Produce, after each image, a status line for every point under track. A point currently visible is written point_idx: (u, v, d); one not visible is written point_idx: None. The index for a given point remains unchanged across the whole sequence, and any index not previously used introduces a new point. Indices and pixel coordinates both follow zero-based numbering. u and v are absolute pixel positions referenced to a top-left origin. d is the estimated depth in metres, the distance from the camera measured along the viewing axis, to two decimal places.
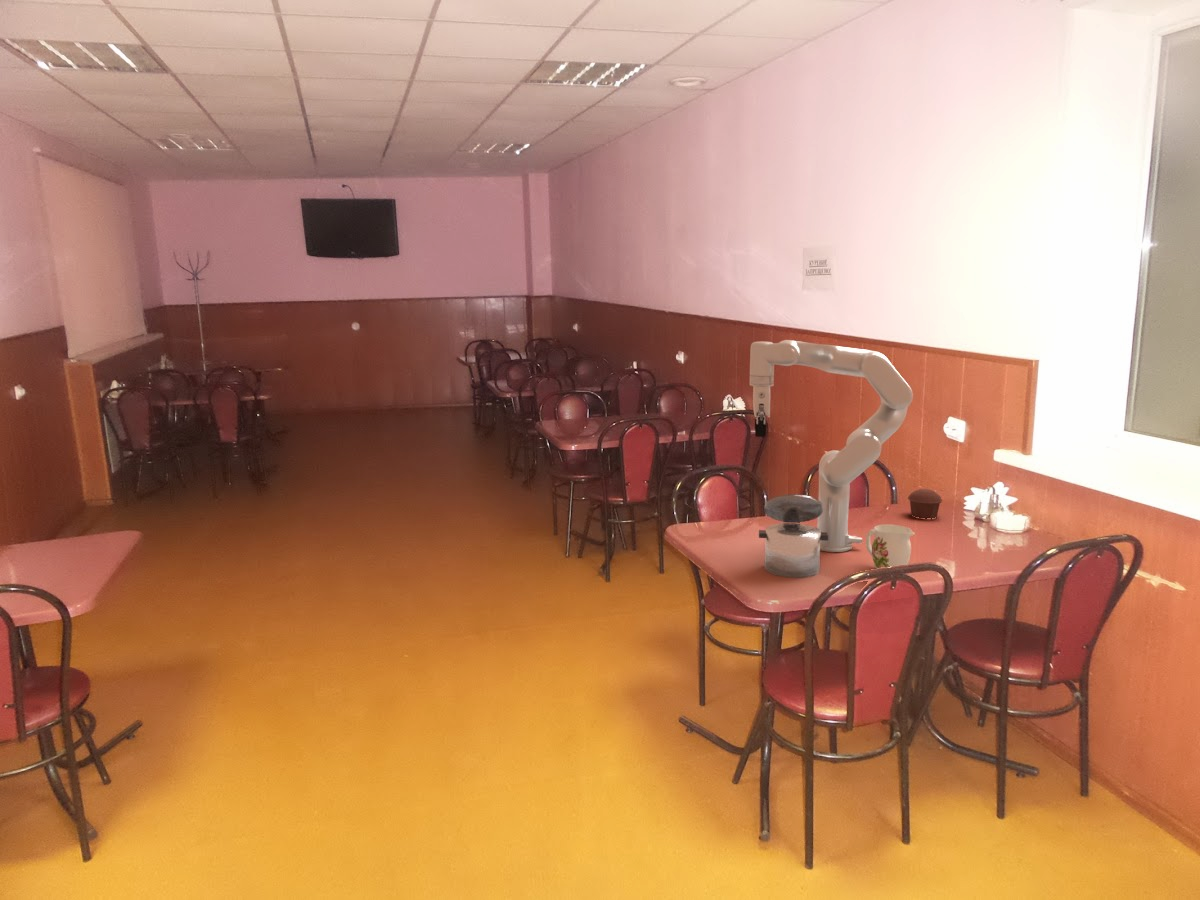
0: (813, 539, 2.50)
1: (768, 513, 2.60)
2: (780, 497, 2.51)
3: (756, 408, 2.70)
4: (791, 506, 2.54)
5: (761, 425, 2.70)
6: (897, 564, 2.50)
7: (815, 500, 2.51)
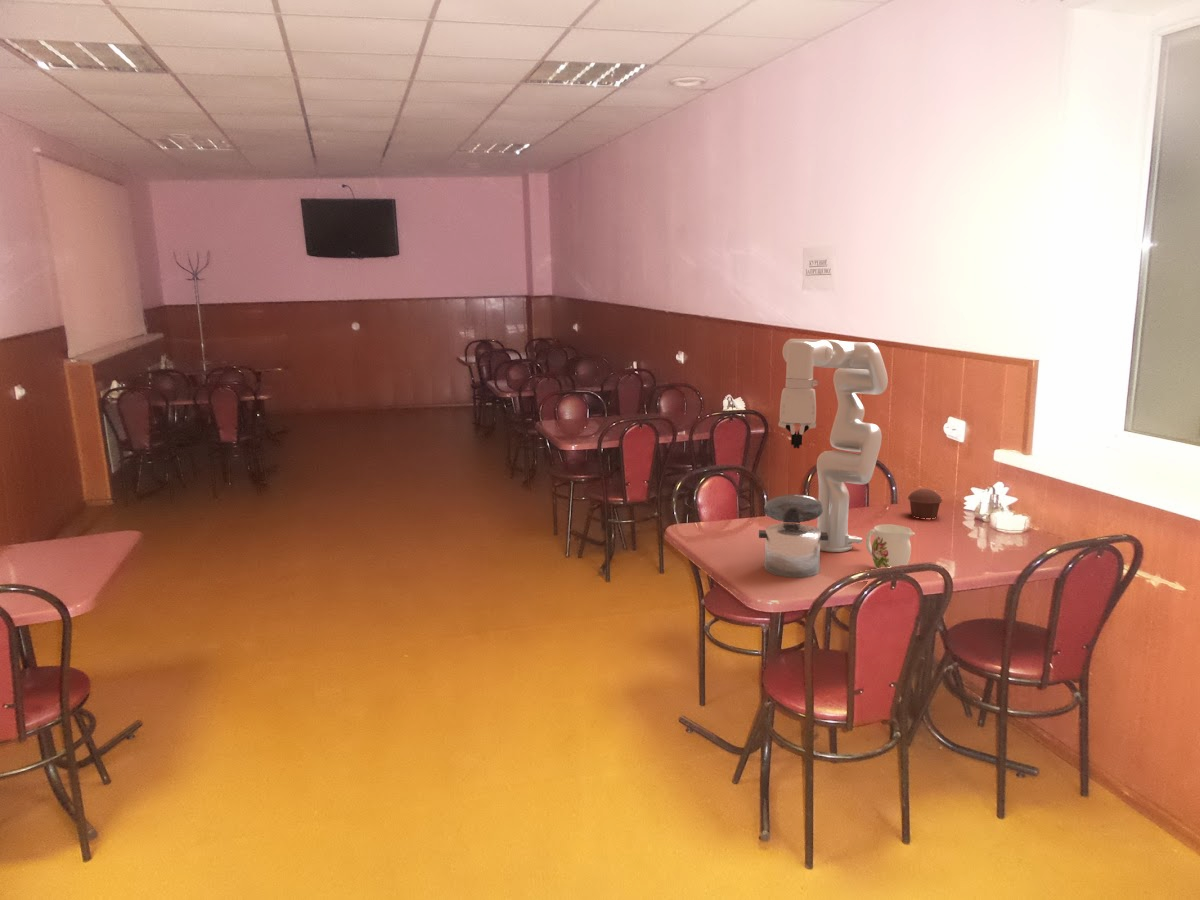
0: (813, 539, 2.50)
1: (768, 513, 2.60)
2: (780, 497, 2.51)
3: (815, 413, 2.46)
4: (791, 506, 2.54)
5: None
6: (897, 564, 2.50)
7: (815, 500, 2.51)
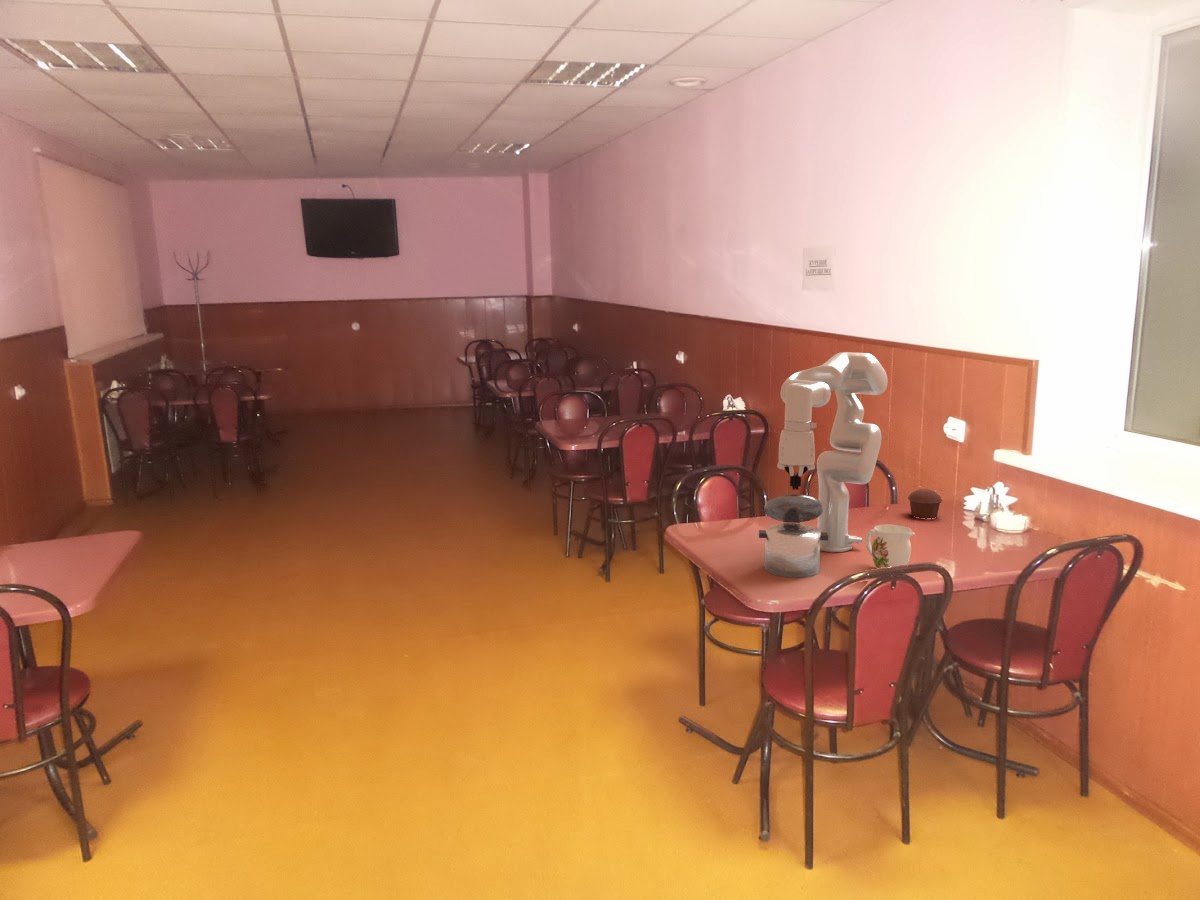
0: (813, 539, 2.50)
1: (768, 513, 2.60)
2: (780, 497, 2.51)
3: (814, 455, 2.47)
4: (791, 506, 2.54)
5: (800, 476, 2.50)
6: (897, 564, 2.50)
7: (815, 500, 2.51)
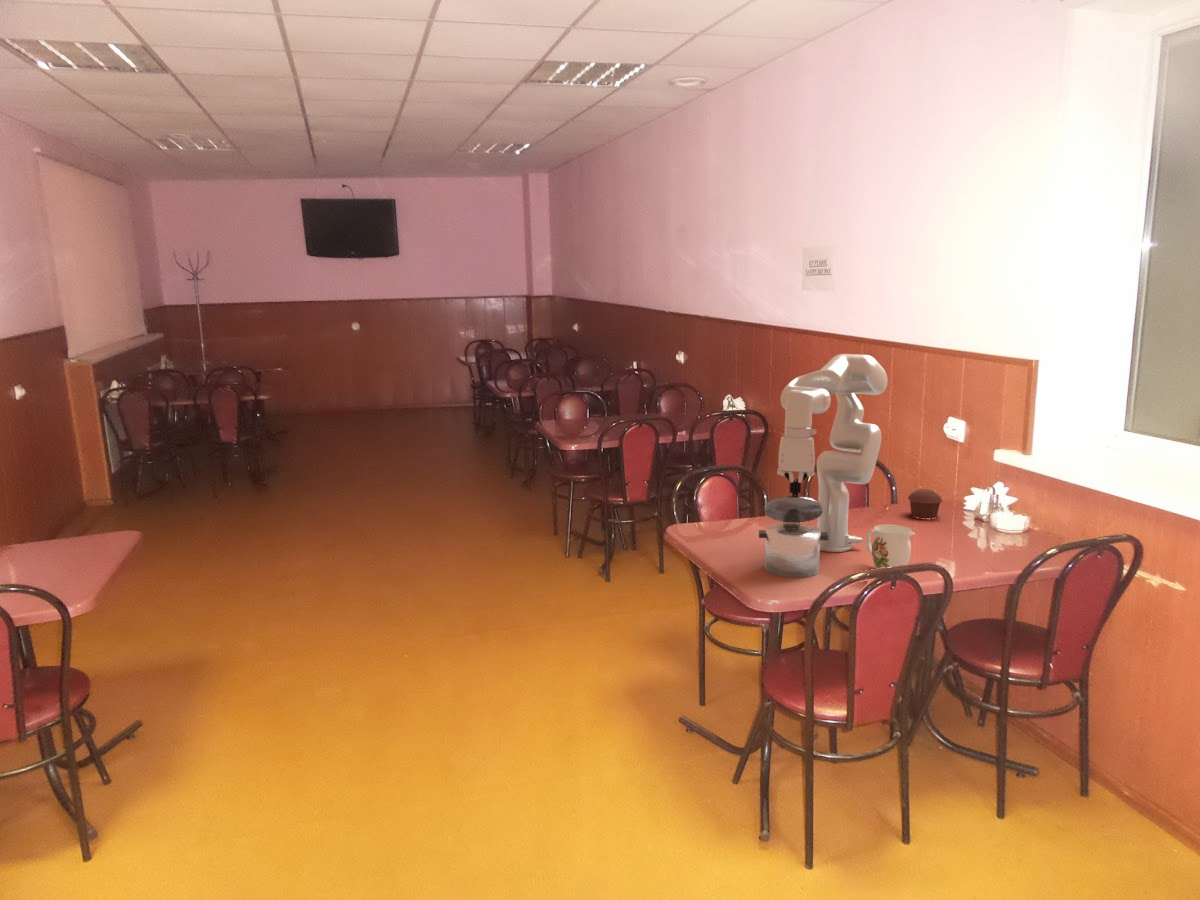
0: (813, 539, 2.50)
1: (768, 514, 2.60)
2: (780, 499, 2.51)
3: (814, 462, 2.47)
4: (791, 507, 2.54)
5: (800, 482, 2.50)
6: (897, 564, 2.50)
7: (815, 501, 2.51)
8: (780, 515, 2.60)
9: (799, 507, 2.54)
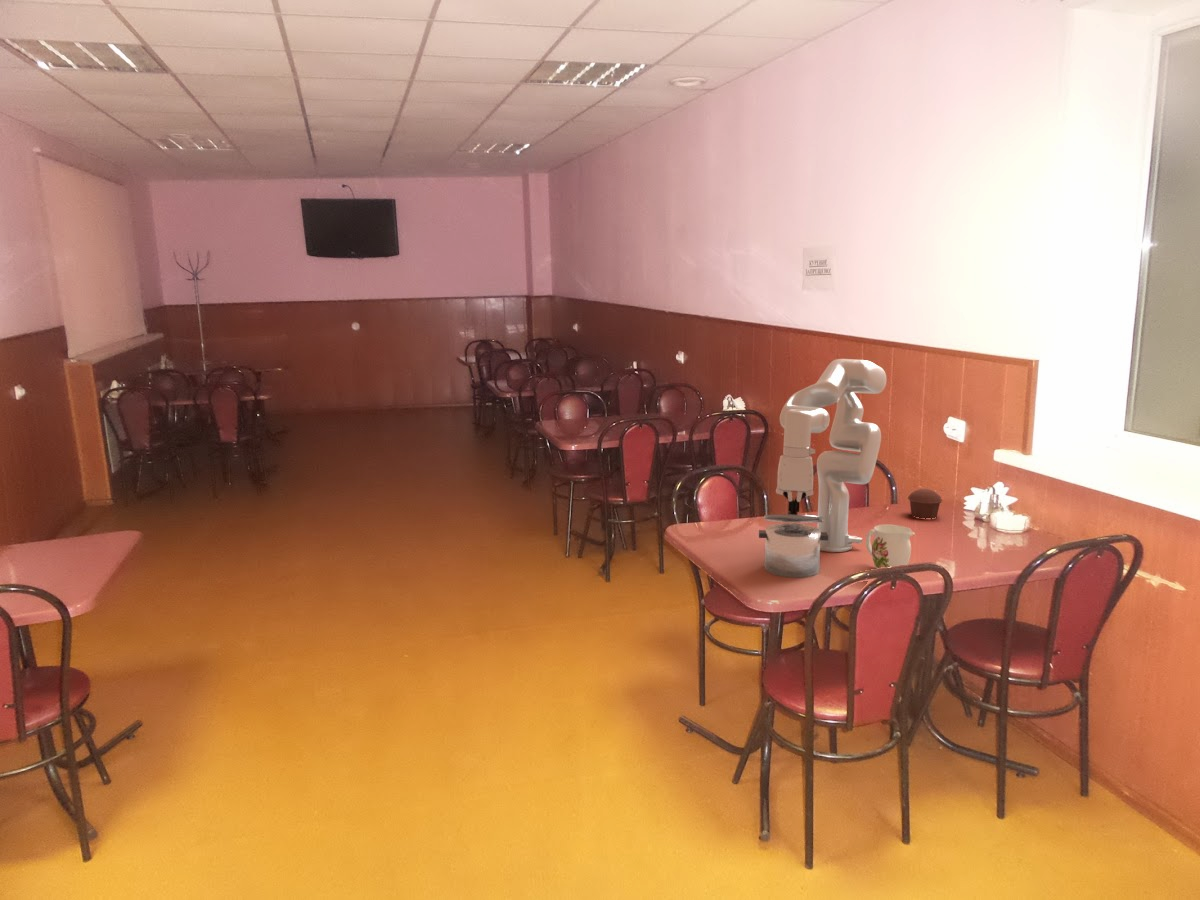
0: (813, 539, 2.50)
1: (768, 520, 2.60)
2: (780, 516, 2.49)
3: None
4: None
5: (799, 501, 2.51)
6: (897, 564, 2.50)
7: (815, 517, 2.49)
8: None
9: None
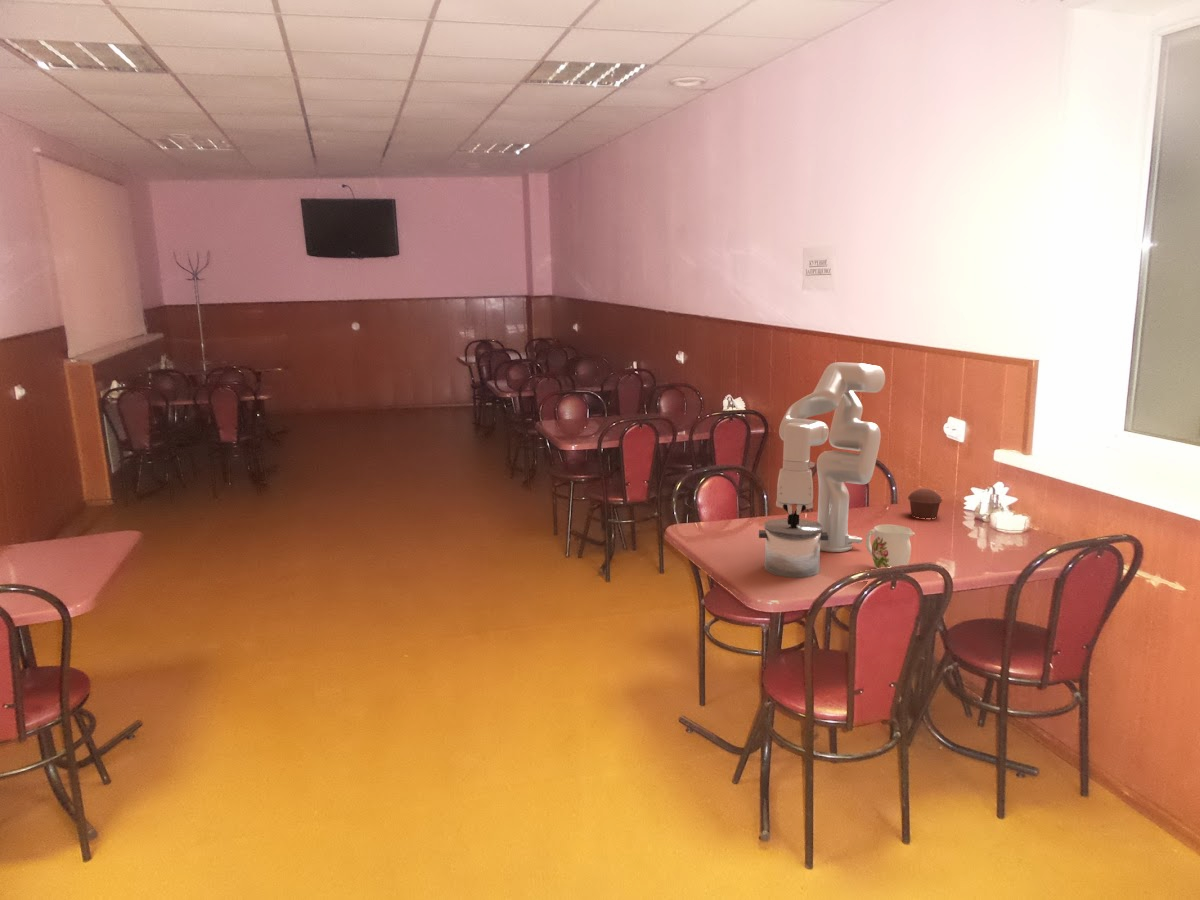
0: (813, 539, 2.50)
1: None
2: (780, 531, 2.49)
3: (812, 494, 2.49)
4: None
5: (799, 514, 2.52)
6: (897, 564, 2.50)
7: (815, 532, 2.49)
8: None
9: None
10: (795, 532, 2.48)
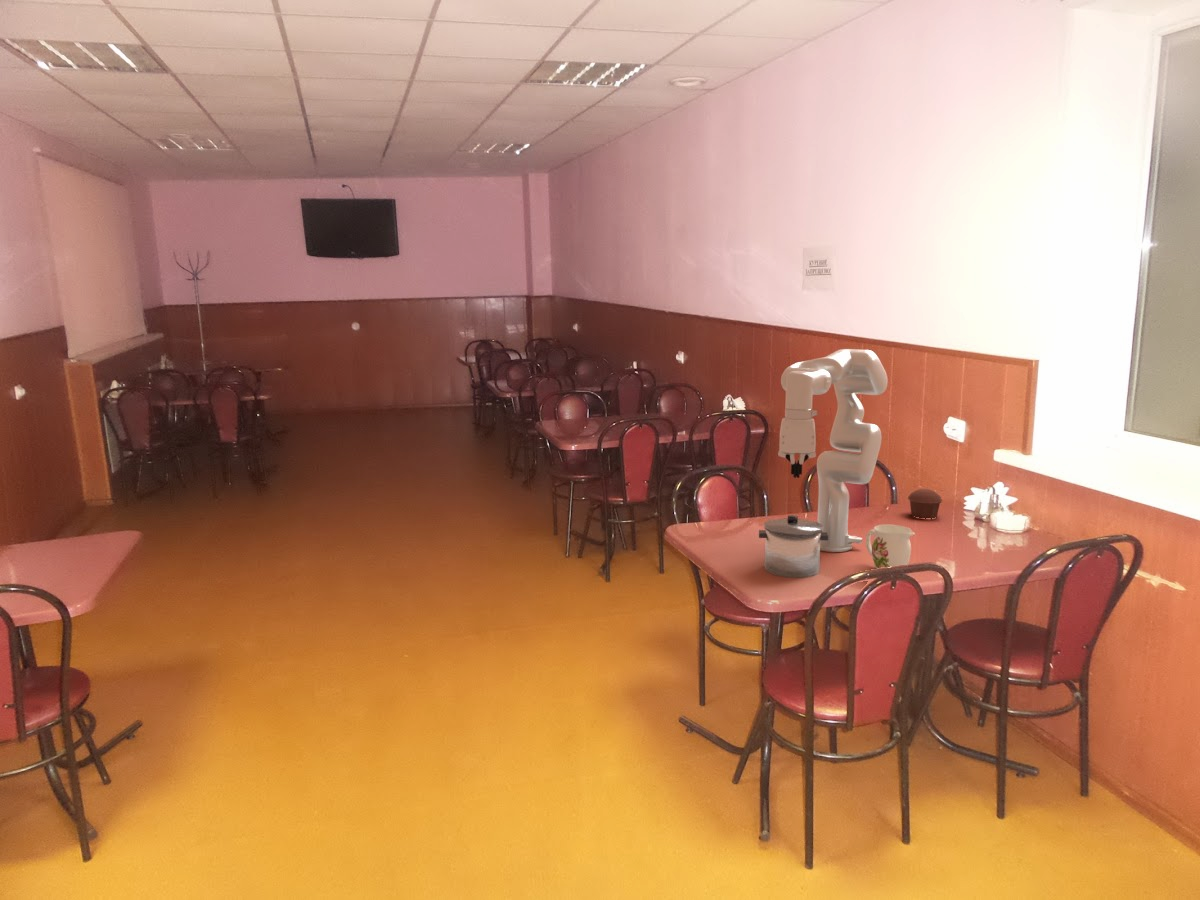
0: (813, 539, 2.50)
1: None
2: (780, 531, 2.49)
3: (815, 443, 2.46)
4: None
5: (801, 464, 2.50)
6: (897, 564, 2.50)
7: (815, 532, 2.49)
8: None
9: None
10: (795, 532, 2.48)
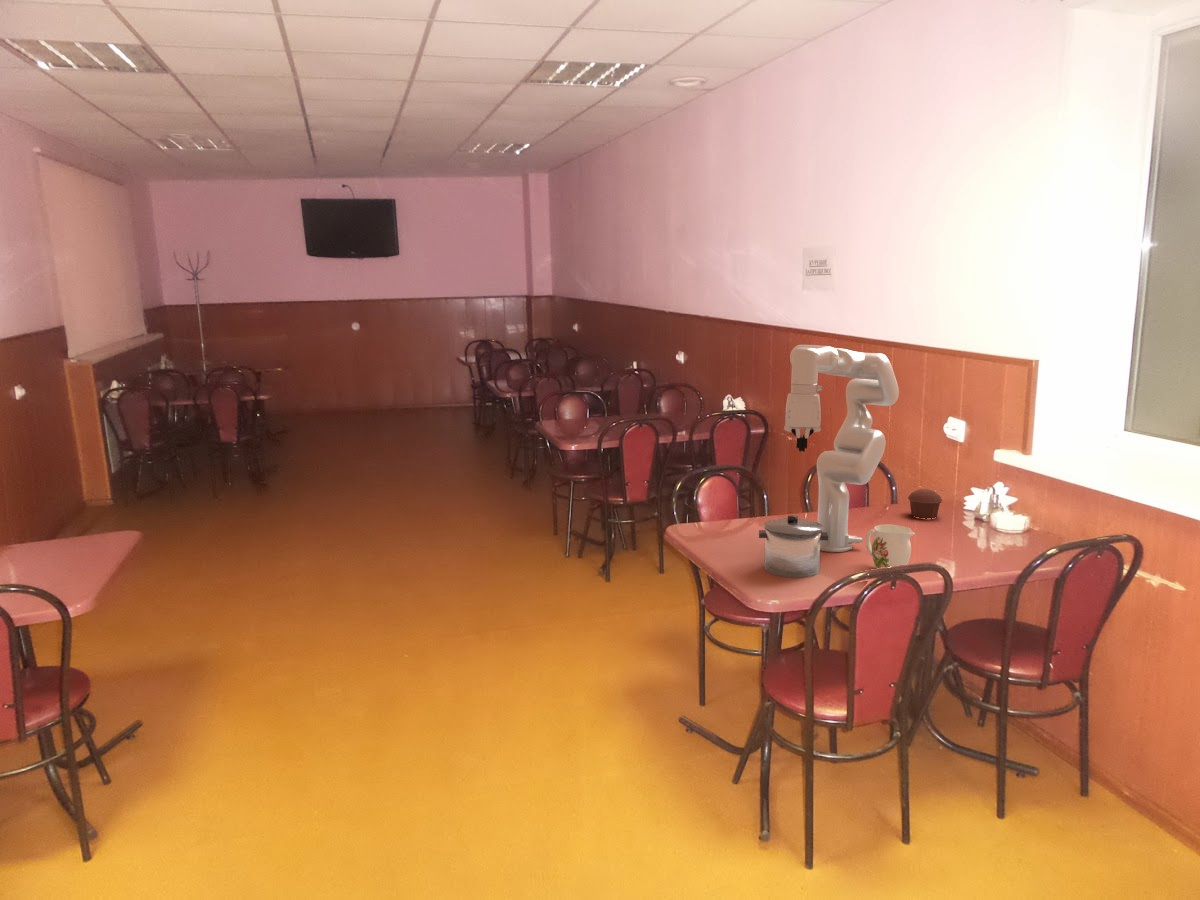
0: (813, 539, 2.50)
1: None
2: (780, 531, 2.49)
3: (820, 418, 2.53)
4: None
5: None
6: (897, 564, 2.50)
7: (815, 532, 2.49)
8: None
9: None
10: (795, 532, 2.48)
